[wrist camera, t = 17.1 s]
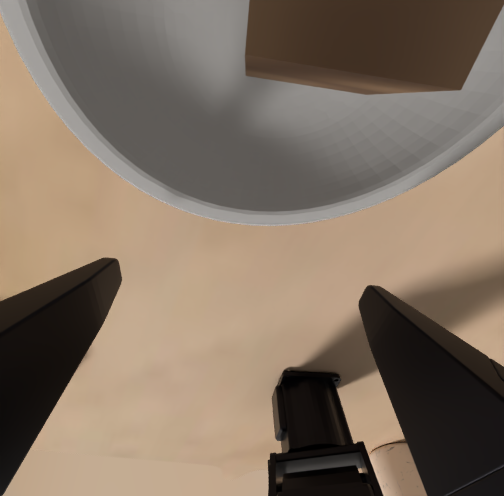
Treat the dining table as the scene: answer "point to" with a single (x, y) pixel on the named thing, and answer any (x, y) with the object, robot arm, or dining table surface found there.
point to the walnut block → (368, 43)
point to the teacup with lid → (396, 471)
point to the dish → (239, 112)
